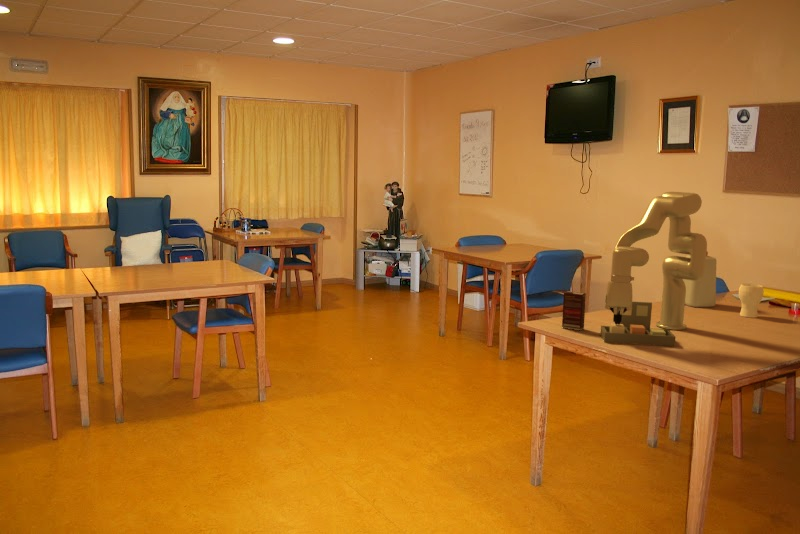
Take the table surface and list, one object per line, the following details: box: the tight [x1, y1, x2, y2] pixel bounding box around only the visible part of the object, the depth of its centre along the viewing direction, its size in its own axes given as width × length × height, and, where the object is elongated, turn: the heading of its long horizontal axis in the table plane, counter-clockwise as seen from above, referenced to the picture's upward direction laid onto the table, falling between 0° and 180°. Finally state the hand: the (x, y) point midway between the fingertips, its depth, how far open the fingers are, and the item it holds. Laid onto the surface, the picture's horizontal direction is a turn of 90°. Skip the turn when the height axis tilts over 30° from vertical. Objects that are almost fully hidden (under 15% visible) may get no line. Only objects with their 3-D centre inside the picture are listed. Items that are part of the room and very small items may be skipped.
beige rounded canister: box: [683, 251, 717, 308], centre depth 358 cm, size 15×15×28 cm
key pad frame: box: [600, 325, 676, 347], centre depth 283 cm, size 12×27×4 cm, turn 81°
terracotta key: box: [630, 325, 645, 334], centre depth 283 cm, size 5×5×3 cm
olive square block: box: [650, 328, 666, 335], centre depth 282 cm, size 5×5×3 cm
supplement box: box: [561, 290, 587, 331], centre depth 300 cm, size 9×5×16 cm, turn 59°
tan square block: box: [609, 322, 625, 333], centre depth 284 cm, size 5×5×3 cm
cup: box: [738, 283, 765, 319], centre depth 334 cm, size 11×11×15 cm
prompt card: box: [617, 300, 653, 329], centre depth 292 cm, size 2×14×14 cm, turn 82°
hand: (617, 323), depth 283 cm, fingers closed
